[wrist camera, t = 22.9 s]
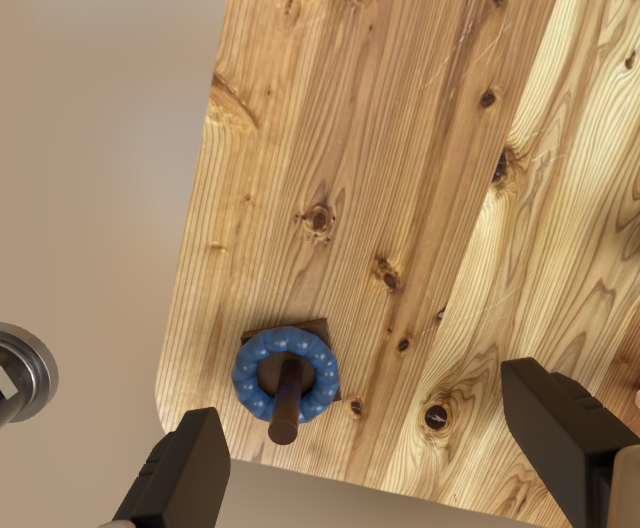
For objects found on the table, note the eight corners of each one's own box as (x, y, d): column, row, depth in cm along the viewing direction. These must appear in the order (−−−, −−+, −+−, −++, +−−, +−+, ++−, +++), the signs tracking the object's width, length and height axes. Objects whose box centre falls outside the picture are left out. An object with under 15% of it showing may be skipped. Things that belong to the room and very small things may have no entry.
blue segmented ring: (248, 422, 45) (244, 437, 42) (224, 332, 42) (218, 343, 40) (346, 407, 44) (347, 421, 42) (328, 315, 41) (328, 324, 39)
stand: (261, 405, 46) (241, 485, 35) (243, 332, 44) (215, 393, 32) (341, 392, 45) (346, 470, 34) (326, 317, 43) (327, 375, 32)
